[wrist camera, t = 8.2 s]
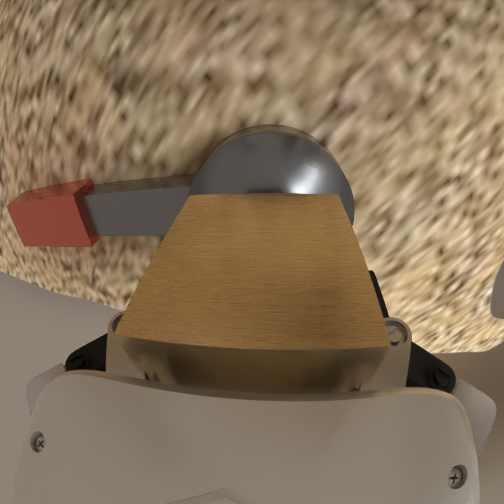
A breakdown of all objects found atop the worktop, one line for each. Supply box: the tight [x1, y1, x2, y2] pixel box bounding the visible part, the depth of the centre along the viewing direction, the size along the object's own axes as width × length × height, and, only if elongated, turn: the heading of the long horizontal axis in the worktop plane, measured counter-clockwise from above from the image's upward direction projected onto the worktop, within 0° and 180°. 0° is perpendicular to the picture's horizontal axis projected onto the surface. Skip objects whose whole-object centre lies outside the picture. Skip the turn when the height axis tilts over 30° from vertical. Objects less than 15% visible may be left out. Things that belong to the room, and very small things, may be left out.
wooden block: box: [114, 193, 391, 394], centre depth 10 cm, size 6×6×7 cm
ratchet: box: [7, 125, 355, 247], centre depth 15 cm, size 26×9×6 cm, turn 93°
